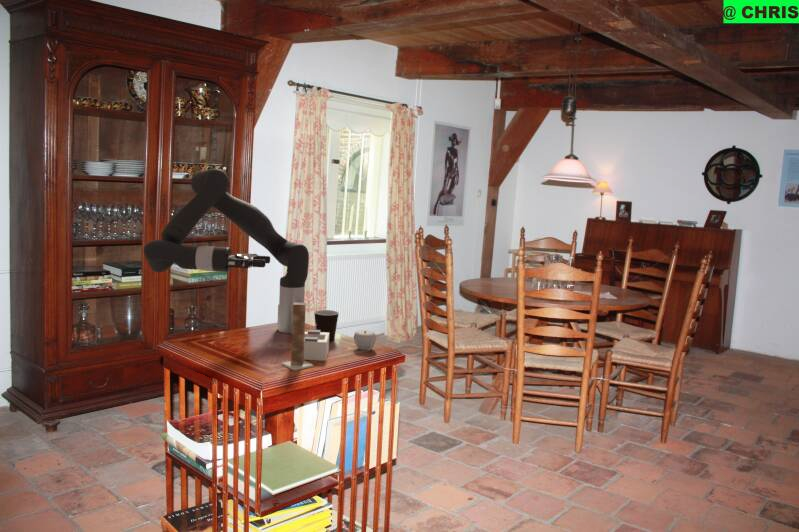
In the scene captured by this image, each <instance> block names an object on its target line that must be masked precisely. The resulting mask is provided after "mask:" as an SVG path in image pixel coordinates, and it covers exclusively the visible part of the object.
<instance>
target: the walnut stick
mask: <svg viewBox="0 0 799 532" xmlns="http://www.w3.org/2000/svg"><path fill="white" fill-rule="evenodd" d="M306 309H307V308H306V302H304V303H299V302H294V304H293V317H292V333H291V347H290V348H291V349H290V350H291V351H290V354H291V355H290V361H291V365H298V366H302V365H303V362H304V361H305V360H304V336H305V331H306Z"/></svg>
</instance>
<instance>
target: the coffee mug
mask: <svg viewBox="0 0 799 532" xmlns="http://www.w3.org/2000/svg"><path fill="white" fill-rule="evenodd" d="M338 319H339V312H338V311H335V310H331V309H318V310H315V311H314V323H315V324H314V325H315V330H321V332H327V333H329V343H331V342H334V341H335V338H336V331H337V326H338Z"/></svg>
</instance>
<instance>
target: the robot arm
mask: <svg viewBox="0 0 799 532" xmlns="http://www.w3.org/2000/svg"><path fill="white" fill-rule="evenodd" d="M190 184H191V185H190V186H191V189H192V191H193V192H194V194H195V195H194V197H193V198H192V199H191V200H190V201H188V202H187V203H186V204H185V205H184V206H183V207H181V208H180V210H178V211H176V213H175V214H174V215H173V216H172V217H171V218H170V220H169V221H168V223H166V225H165V227H164V228H163V229H162V231H161V233H160V234H161V235H160V236H161V237H160V238H161V239H154V240H151V241H149V242H148V243H146V244H145V245H144V247H143V254H144V257H145V260H146V261H147V263H148V266H149V267H150V270H152V271H154V272H155V273H164V272H166V271H168V270H169V269H170V268H172V267H173V265H174V264H176V265H177V266H178V267H179V268H180V269H182V270H198V271H203V272H217V273H219V272H221V273H229V271H230V270H231V268H236V269H237V268H238V269H239V268H240V269H251V268H265V267H266V264H270V263H271V256H273V257H274V258H275V260H276V261H277V262H278V263H279V264H280V265H282V266H283V267H287V268H286V274H285V275H284V276H282V277H280V279H279V300H278V305H277V328H276V329H277V330H278V332H279V333H283V334H292V317H293V304H294V302H299V303H305V292H306V291H305V290H306V289H305V287H306V281H307V278H308V273H309V262H310V256H309V255H310V252H309V250H308V247H306V246H305V245H304V244H303V243H302V244H301V243H297V242H293V241H290V240H287V239H286V238H284V237H283V236H282V235H281V234H279V233H278V232H277V230H275V227H274V226H273V223H272V221H271V219H269V217H268V216H267V215H266V214H265V213H264V212H263V211H261V210H260V209H259V208H258V207H256V206H255V205H253V204H251V203H249V202H248V201H245V200H242V199H240V198H237V197H235V196H233V195H231V193H229V192H228V190H229V188H230V178H229V176H228V174H227V172H226V171H224V170H222V169H220V168H211V169H206V170H202V171H199V172H197V173H195V174H193V176H192V177H191V180H190ZM212 207H213V208H214V209H216V210H218V211H219V212H220V213H221V214H222V215H224V216H225V218H227V219H228V220H230V221H231V222H232V223H233V224H234V225H236V226H237V227H238V228H239V229H241V231H243V232H244V234H246V235H247V236H248V237H250V238H252V240H254V241H255V242H256V243H258V244H259V245H260V246H262V247H264V249H266V251H268V252H269V253H270V254H271V256H269V255H258V254H257V253H243V252H236V253H235V254H232V250H231V248H230V247H229V246H210V245H206V246H205V245H204V246H193V245H183V243H184V242H185V240H187V238H188V236H189V235H190V234H191V232H192V231H193V230H194V228H196V227H195V226H197V224H198V223H199V221H200V220H201V219H202V218H203V217H204V215H206V214H207V212H208V211H210V209H211V208H212Z"/></svg>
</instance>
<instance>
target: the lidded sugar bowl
mask: <svg viewBox="0 0 799 532" xmlns="http://www.w3.org/2000/svg"><path fill="white" fill-rule="evenodd" d="M376 341H377V336H376V334H375V332H374V331H372V330H358V331H355V332H354V335H353V342H354V344H355V346H356V348H357V349H358V350H359V349H360V350H359V351H370V350H371V349H373V347H374V346H375V345H376ZM369 349H370V350H369Z"/></svg>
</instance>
